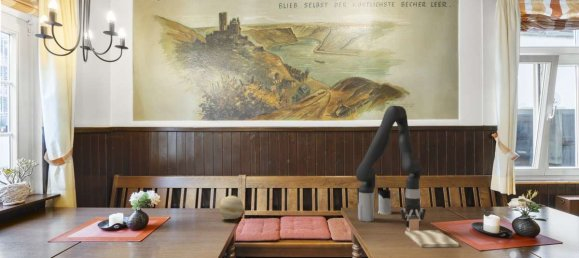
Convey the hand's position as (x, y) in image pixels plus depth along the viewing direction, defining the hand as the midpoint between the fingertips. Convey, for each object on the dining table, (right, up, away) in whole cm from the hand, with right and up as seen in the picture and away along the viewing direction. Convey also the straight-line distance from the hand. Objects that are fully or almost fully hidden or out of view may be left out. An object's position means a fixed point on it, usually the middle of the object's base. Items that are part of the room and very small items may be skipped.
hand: (412, 227), depth 197 cm
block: (0, -2, 0) cm, 2 cm away
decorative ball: (-105, -3, +29) cm, 109 cm away
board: (+3, -2, -16) cm, 16 cm away
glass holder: (-2, -2, +41) cm, 41 cm away
